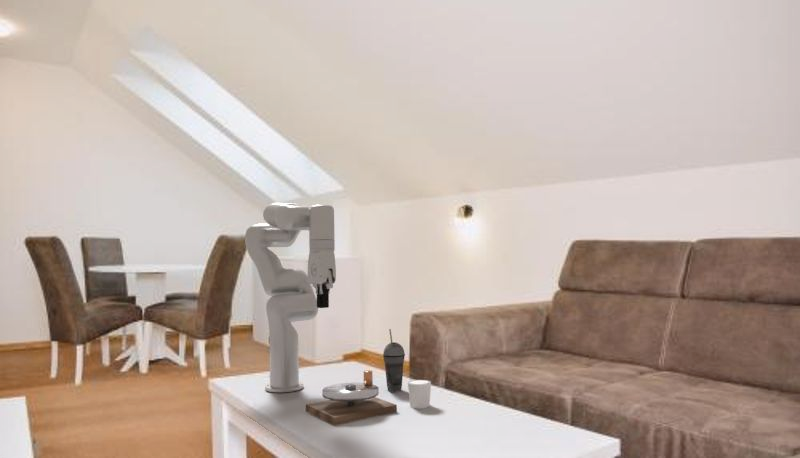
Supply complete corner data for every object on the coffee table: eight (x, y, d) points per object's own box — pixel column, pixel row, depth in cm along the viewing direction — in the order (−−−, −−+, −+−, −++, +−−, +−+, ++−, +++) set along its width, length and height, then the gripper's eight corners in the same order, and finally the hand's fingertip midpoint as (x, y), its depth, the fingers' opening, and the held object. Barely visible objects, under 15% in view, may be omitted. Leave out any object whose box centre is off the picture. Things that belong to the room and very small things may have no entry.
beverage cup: (403, 393, 184) (402, 330, 185) (381, 392, 185) (380, 330, 186) (407, 388, 191) (406, 327, 192) (386, 387, 193) (385, 327, 193)
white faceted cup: (434, 404, 171) (434, 380, 171) (426, 410, 165) (425, 385, 165) (413, 401, 174) (413, 378, 174) (404, 407, 168) (403, 383, 168)
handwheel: (345, 404, 153) (345, 384, 153) (311, 394, 165) (311, 375, 165) (390, 393, 164) (389, 374, 164) (355, 384, 176) (355, 366, 176)
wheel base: (305, 411, 165) (305, 394, 165) (364, 400, 177) (364, 384, 177) (334, 425, 151) (334, 407, 152) (396, 411, 163) (396, 395, 163)
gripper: (299, 246, 177) (300, 306, 176) (322, 245, 165) (323, 310, 164) (321, 246, 181) (322, 305, 180) (345, 245, 169) (346, 308, 168)
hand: (322, 307), depth 172 cm, fingers closed
